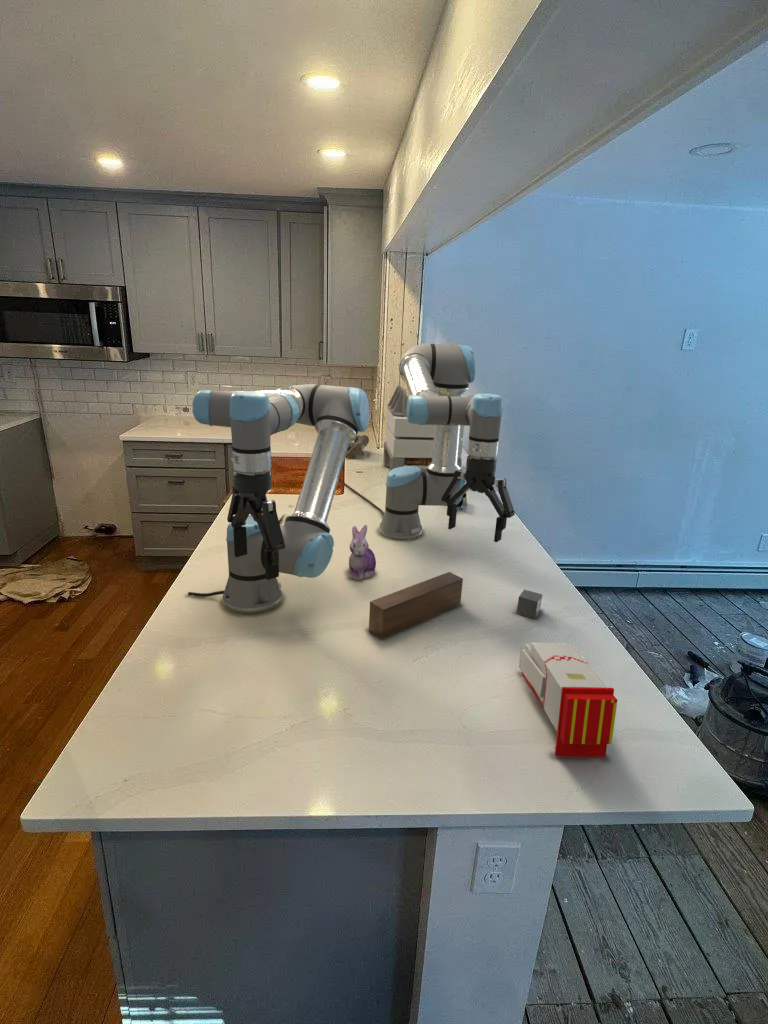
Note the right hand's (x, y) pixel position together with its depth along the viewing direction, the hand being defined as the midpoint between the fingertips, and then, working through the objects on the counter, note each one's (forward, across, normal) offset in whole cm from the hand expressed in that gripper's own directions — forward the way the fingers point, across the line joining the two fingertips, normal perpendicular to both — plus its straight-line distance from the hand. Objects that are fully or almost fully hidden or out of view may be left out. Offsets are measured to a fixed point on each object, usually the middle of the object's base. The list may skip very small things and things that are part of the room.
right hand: (474, 534), depth 151 cm
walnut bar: (+19, -5, -18) cm, 27 cm away
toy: (+20, +36, -30) cm, 51 cm away
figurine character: (+18, -41, +67) cm, 80 cm away
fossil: (+18, -123, +105) cm, 163 cm away
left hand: (-2, -24, -54) cm, 60 cm away
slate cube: (+19, +16, +4) cm, 26 cm away
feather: (+19, -82, +10) cm, 85 cm away
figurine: (+19, -32, -7) cm, 38 cm away
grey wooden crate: (+18, -78, +98) cm, 127 cm away
